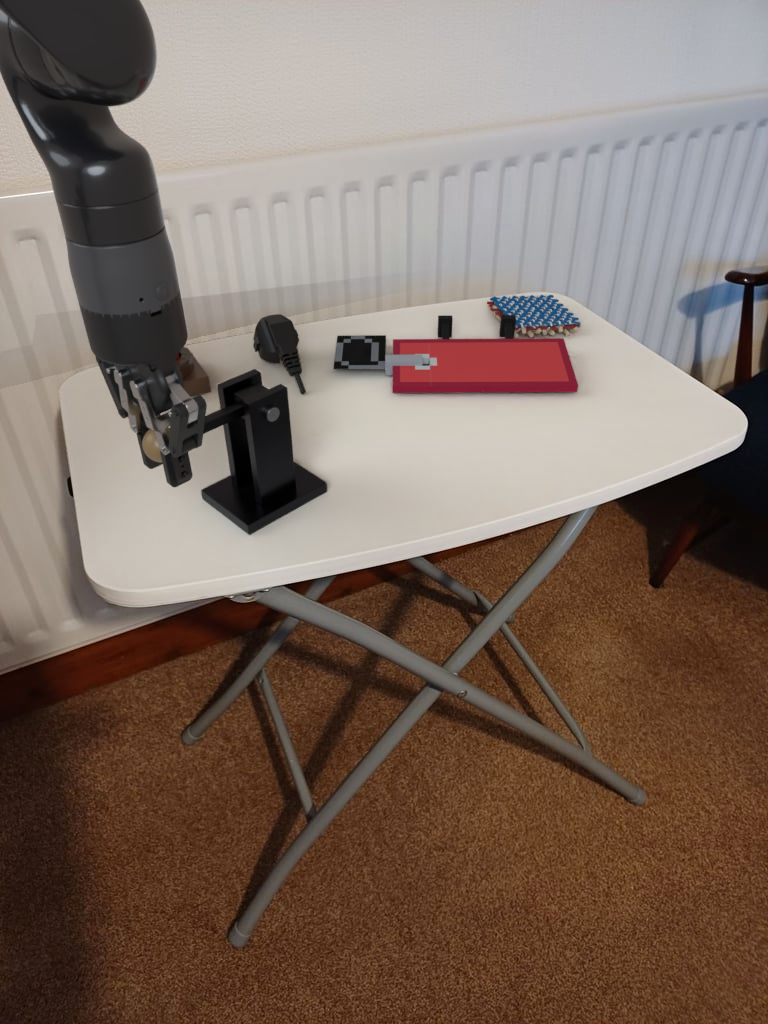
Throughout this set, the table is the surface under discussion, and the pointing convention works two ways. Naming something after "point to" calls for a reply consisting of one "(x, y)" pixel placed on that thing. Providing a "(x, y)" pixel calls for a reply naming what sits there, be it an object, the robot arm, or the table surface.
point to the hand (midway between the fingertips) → (168, 472)
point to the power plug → (279, 344)
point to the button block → (192, 374)
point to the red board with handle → (463, 361)
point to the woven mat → (535, 314)
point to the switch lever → (207, 420)
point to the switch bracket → (260, 460)
